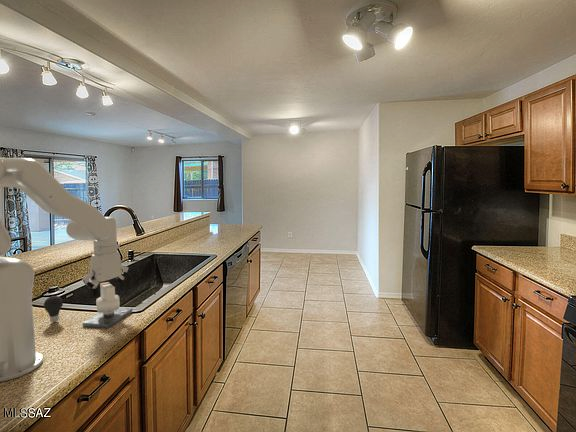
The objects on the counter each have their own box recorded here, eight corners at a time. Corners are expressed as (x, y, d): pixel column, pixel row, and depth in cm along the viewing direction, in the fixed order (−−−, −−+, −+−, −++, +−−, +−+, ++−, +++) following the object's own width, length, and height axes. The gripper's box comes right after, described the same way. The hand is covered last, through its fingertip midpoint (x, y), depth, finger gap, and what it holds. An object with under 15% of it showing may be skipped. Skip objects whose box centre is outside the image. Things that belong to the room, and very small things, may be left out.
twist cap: (122, 308, 116) (121, 284, 115) (100, 314, 110) (99, 289, 109) (115, 302, 121) (114, 280, 120) (94, 308, 115) (92, 284, 114)
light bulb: (67, 319, 115) (66, 294, 114) (55, 326, 109) (53, 299, 108) (54, 318, 115) (52, 293, 114) (40, 325, 110) (39, 298, 109)
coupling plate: (108, 328, 108) (108, 317, 108) (82, 326, 109) (82, 316, 109) (132, 312, 122) (131, 302, 122) (109, 310, 123) (108, 301, 123)
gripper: (120, 244, 122) (122, 285, 124) (75, 253, 107) (77, 299, 108) (133, 246, 119) (134, 288, 121) (88, 255, 103) (90, 303, 105)
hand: (107, 293), depth 115 cm, fingers open, 9 cm apart
